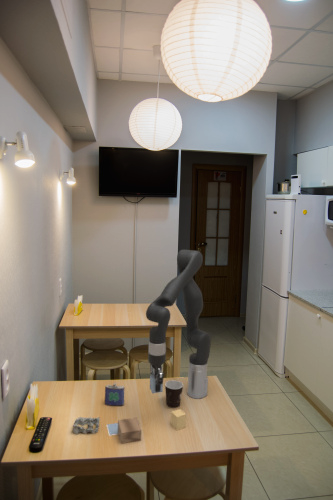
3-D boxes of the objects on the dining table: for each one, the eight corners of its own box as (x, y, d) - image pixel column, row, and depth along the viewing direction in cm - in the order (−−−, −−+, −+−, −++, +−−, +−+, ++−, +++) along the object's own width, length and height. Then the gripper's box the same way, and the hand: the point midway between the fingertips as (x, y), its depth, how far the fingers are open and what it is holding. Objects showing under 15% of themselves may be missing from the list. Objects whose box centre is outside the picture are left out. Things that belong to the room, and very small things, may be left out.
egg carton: (71, 435, 146) (71, 425, 145) (75, 424, 153) (75, 415, 153) (97, 435, 146) (97, 426, 145) (100, 424, 153) (100, 415, 153)
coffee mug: (173, 397, 177) (173, 378, 176) (185, 404, 171) (186, 385, 170) (155, 405, 169) (156, 386, 168) (168, 413, 163) (169, 393, 162)
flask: (124, 403, 170) (125, 382, 169) (123, 406, 167) (124, 385, 166) (105, 402, 171) (105, 381, 169) (103, 405, 168) (104, 384, 166)
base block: (136, 427, 151) (136, 417, 150) (140, 441, 144) (141, 430, 143) (117, 430, 149) (118, 420, 148) (121, 444, 141) (121, 433, 140)
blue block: (159, 386, 159) (159, 374, 158) (162, 392, 154) (162, 378, 154) (149, 388, 157) (150, 375, 157) (152, 393, 153) (152, 380, 152)
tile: (124, 422, 155) (124, 421, 155) (127, 433, 148) (127, 432, 148) (106, 425, 153) (106, 424, 153) (109, 435, 146) (109, 435, 146)
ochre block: (179, 421, 158) (180, 409, 157) (185, 427, 154) (185, 414, 153) (170, 424, 155) (171, 411, 155) (176, 430, 151) (177, 417, 151)
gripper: (170, 357, 148) (169, 395, 150) (160, 344, 161) (159, 379, 164) (153, 359, 146) (152, 398, 148) (144, 345, 159) (143, 381, 161)
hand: (156, 388), depth 156 cm, fingers closed on blue block, 4 cm apart
